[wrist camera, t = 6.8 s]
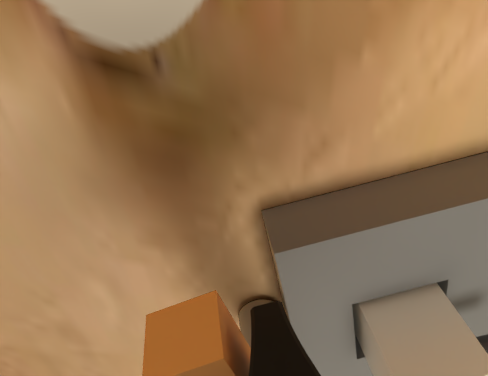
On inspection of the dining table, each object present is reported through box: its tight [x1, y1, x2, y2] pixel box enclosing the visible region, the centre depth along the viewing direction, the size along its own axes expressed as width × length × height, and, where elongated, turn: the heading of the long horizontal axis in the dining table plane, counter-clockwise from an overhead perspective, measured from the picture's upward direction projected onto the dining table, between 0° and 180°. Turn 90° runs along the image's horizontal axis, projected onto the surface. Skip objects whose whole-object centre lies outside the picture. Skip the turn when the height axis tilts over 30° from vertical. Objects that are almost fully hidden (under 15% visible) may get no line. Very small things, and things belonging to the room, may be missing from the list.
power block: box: [261, 152, 488, 376], centre depth 22 cm, size 14×20×3 cm
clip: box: [142, 290, 273, 376], centre depth 16 cm, size 12×2×10 cm, turn 19°
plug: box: [352, 283, 488, 376], centre depth 20 cm, size 4×6×8 cm, turn 102°
